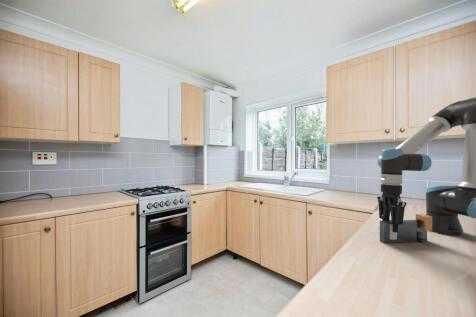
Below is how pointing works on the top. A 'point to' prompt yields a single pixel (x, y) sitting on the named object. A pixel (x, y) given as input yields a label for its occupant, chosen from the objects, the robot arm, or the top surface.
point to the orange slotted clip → (425, 221)
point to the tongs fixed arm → (420, 230)
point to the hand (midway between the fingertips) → (390, 237)
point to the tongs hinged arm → (400, 232)
